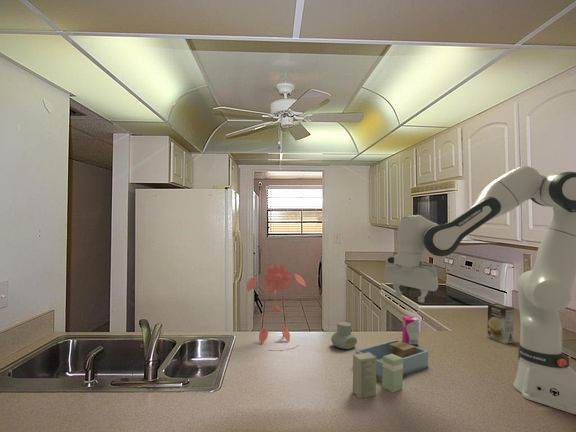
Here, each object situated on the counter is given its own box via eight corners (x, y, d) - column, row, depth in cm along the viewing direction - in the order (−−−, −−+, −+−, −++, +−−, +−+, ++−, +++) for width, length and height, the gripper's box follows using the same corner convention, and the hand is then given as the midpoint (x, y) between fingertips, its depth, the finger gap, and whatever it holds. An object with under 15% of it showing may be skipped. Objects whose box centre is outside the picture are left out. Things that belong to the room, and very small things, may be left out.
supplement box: (414, 341, 157) (415, 316, 157) (418, 346, 151) (419, 320, 151) (401, 340, 158) (402, 315, 158) (405, 345, 152) (405, 319, 152)
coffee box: (486, 337, 164) (486, 303, 164) (495, 336, 167) (496, 303, 167) (504, 344, 156) (505, 308, 156) (514, 342, 158) (514, 307, 158)
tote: (427, 366, 130) (428, 351, 130) (385, 382, 117) (386, 364, 117) (396, 353, 142) (396, 339, 142) (355, 366, 129) (355, 350, 129)
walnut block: (415, 362, 132) (415, 346, 132) (403, 366, 128) (404, 350, 128) (400, 355, 138) (400, 340, 138) (388, 359, 134) (389, 344, 134)
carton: (402, 388, 112) (403, 358, 112) (393, 392, 110) (393, 361, 110) (391, 383, 116) (391, 353, 116) (382, 386, 114) (382, 356, 114)
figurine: (244, 339, 154) (246, 261, 153) (299, 336, 159) (302, 261, 159) (247, 354, 139) (250, 267, 138) (309, 350, 144) (311, 267, 144)
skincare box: (369, 389, 112) (369, 351, 112) (376, 395, 107) (377, 357, 107) (351, 391, 110) (352, 353, 110) (358, 398, 105) (359, 359, 106)
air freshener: (346, 341, 155) (346, 319, 155) (359, 347, 148) (360, 324, 148) (327, 346, 149) (328, 323, 149) (341, 352, 142) (341, 328, 142)
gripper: (442, 263, 115) (441, 304, 115) (393, 256, 132) (392, 292, 132) (431, 264, 112) (430, 306, 112) (382, 257, 129) (381, 294, 129)
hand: (409, 299), depth 122 cm, fingers open, 8 cm apart
